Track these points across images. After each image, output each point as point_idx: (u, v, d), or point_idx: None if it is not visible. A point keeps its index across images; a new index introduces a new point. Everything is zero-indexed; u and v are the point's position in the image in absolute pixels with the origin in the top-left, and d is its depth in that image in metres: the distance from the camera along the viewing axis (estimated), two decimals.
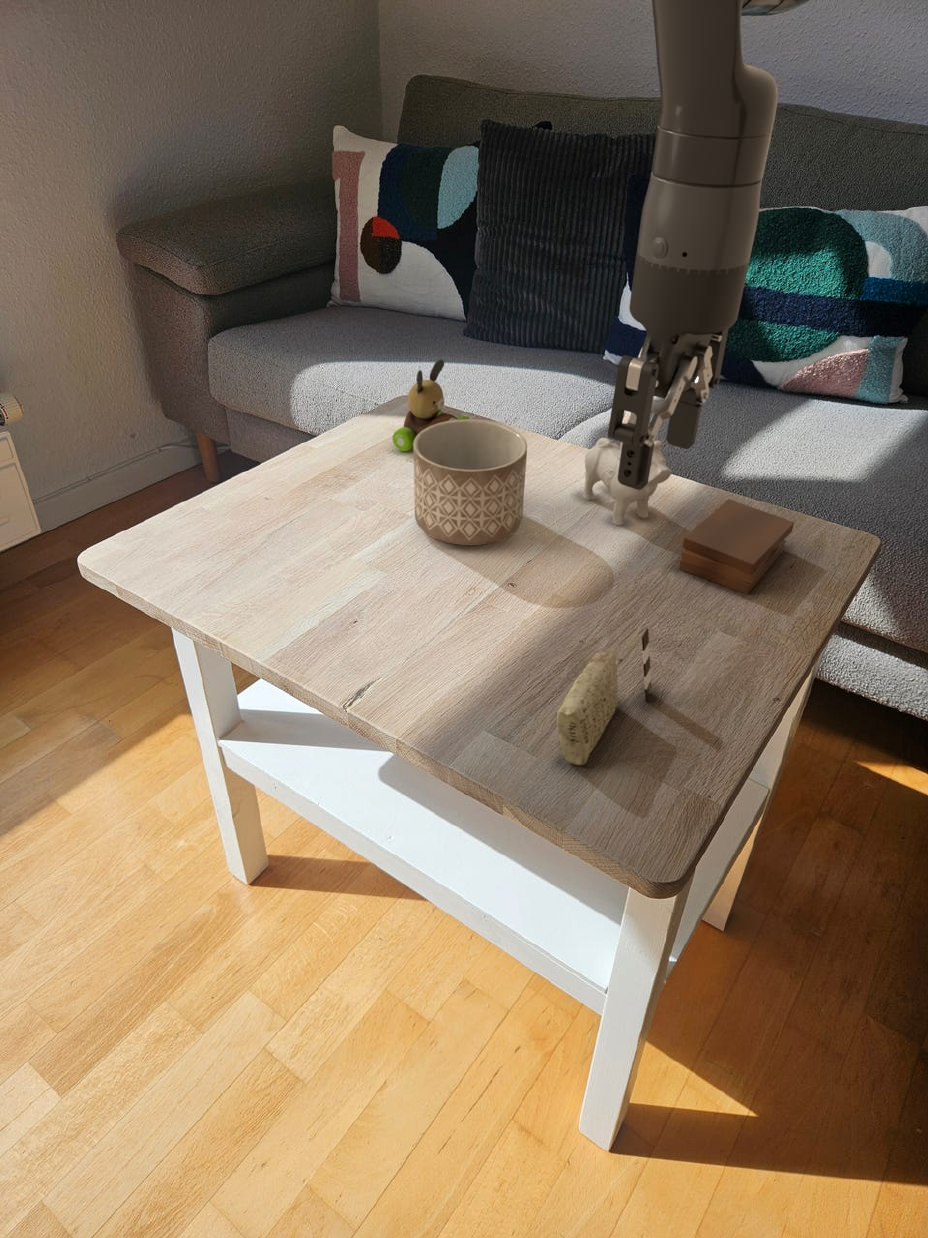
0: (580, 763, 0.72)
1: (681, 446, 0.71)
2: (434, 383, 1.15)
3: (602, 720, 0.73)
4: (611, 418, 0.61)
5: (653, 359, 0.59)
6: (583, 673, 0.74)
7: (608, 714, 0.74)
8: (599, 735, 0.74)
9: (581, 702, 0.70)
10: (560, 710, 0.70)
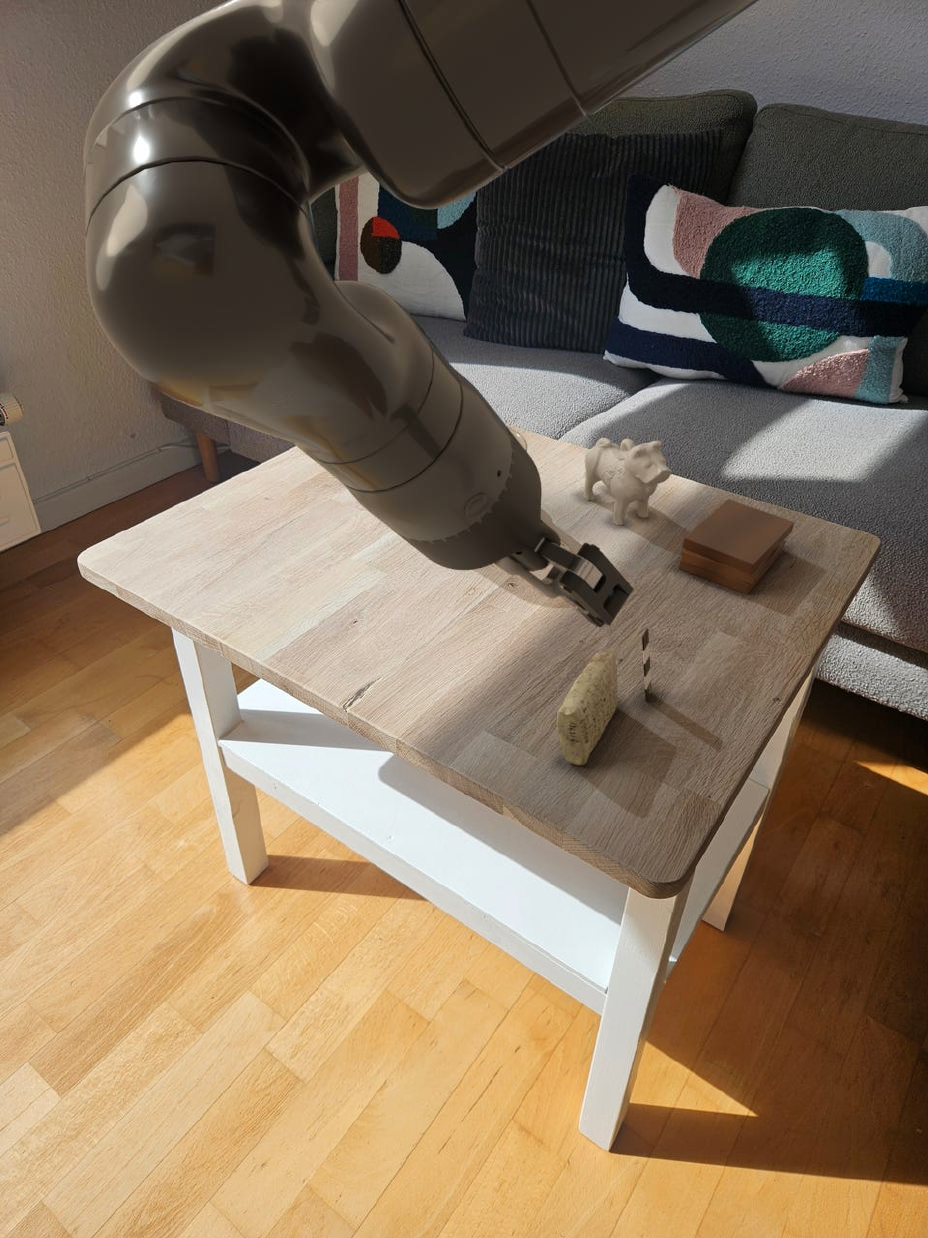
0: (580, 763, 0.72)
1: None
2: None
3: (602, 720, 0.73)
4: (603, 616, 0.47)
5: (564, 548, 0.44)
6: (583, 673, 0.74)
7: (608, 714, 0.74)
8: (599, 735, 0.74)
9: (581, 702, 0.70)
10: (560, 710, 0.70)
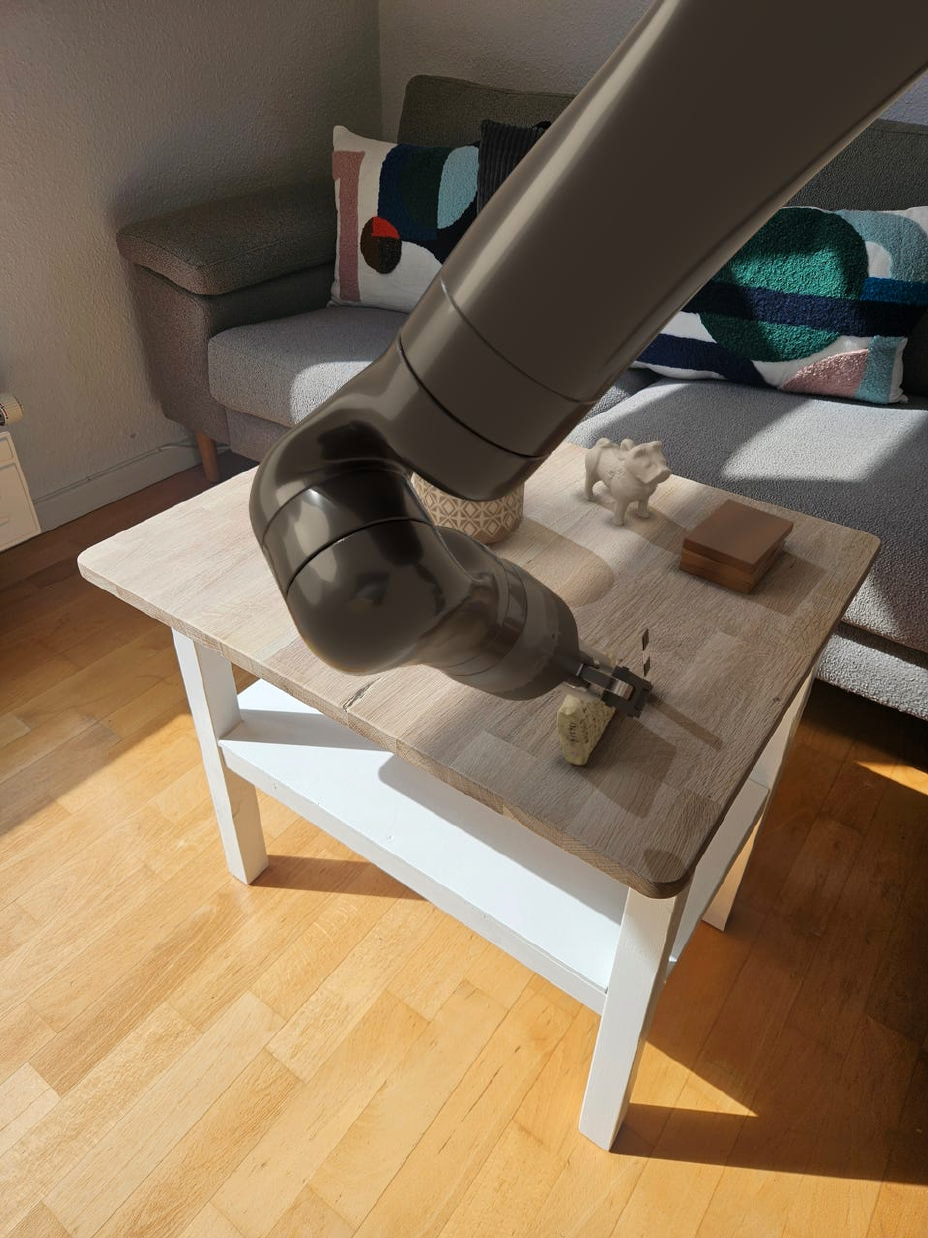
0: (580, 763, 0.72)
1: None
2: None
3: (602, 720, 0.73)
4: (634, 715, 0.57)
5: (601, 671, 0.54)
6: None
7: (608, 714, 0.74)
8: (599, 735, 0.74)
9: (581, 702, 0.70)
10: (560, 710, 0.70)
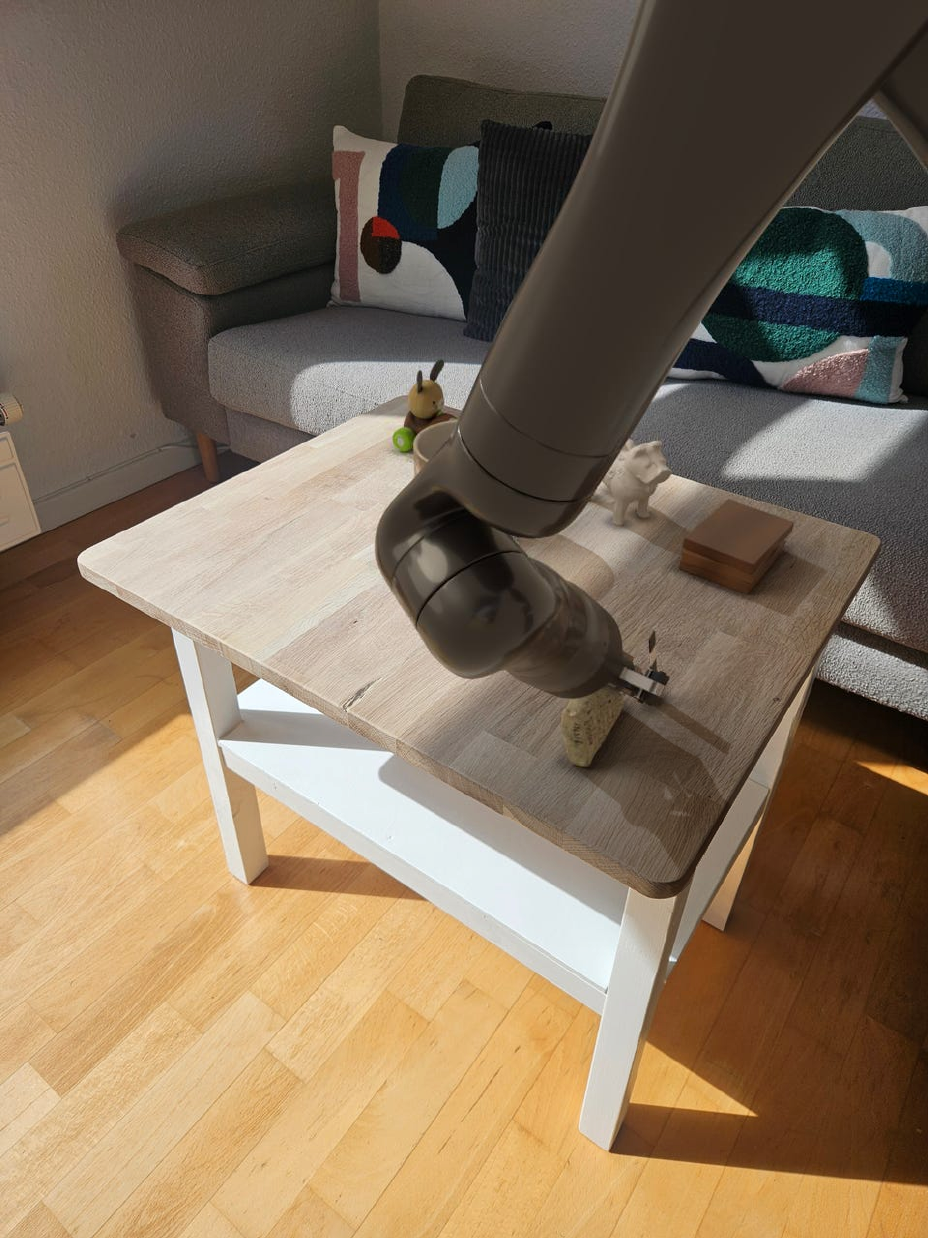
0: (584, 764, 0.72)
1: None
2: (434, 383, 1.15)
3: (607, 722, 0.73)
4: None
5: (643, 675, 0.64)
6: None
7: (613, 716, 0.74)
8: (604, 737, 0.74)
9: (585, 703, 0.70)
10: (564, 711, 0.70)
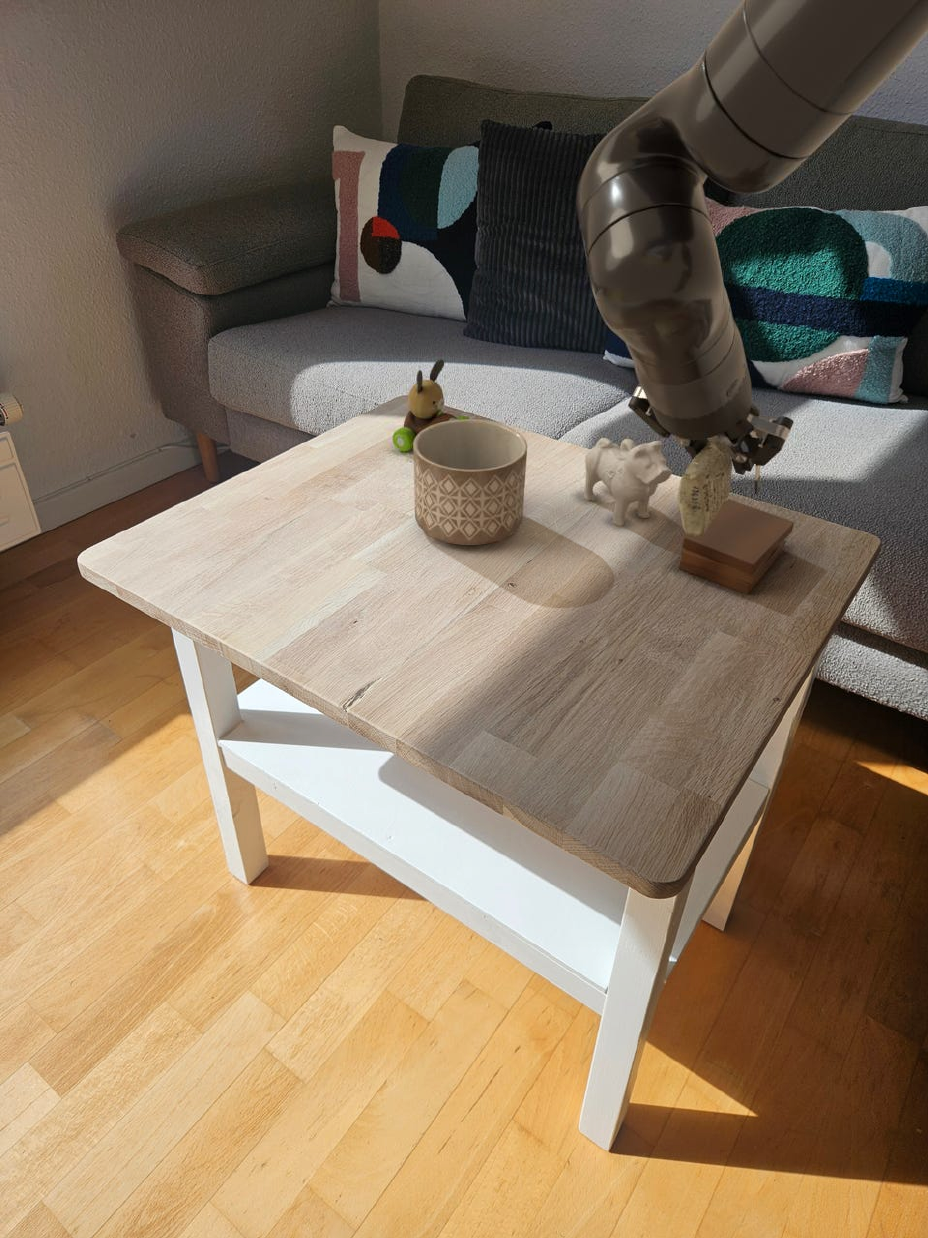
0: (699, 533, 0.75)
1: None
2: (434, 383, 1.15)
3: (720, 494, 0.76)
4: (768, 461, 0.71)
5: (768, 420, 0.68)
6: (701, 451, 0.77)
7: (724, 492, 0.77)
8: (716, 511, 0.77)
9: (703, 469, 0.73)
10: (684, 475, 0.73)
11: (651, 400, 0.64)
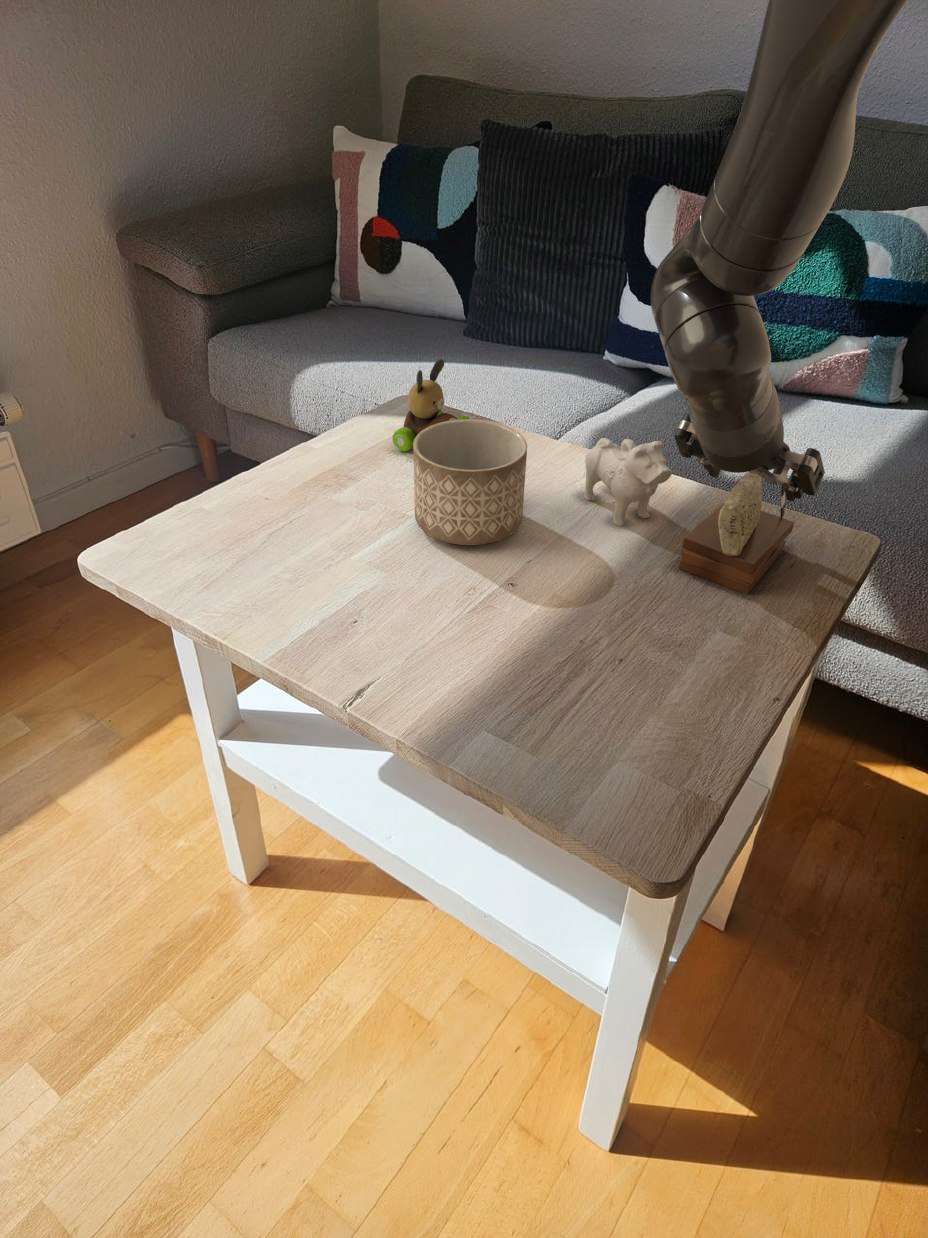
0: (735, 553, 0.91)
1: None
2: (434, 383, 1.15)
3: (753, 521, 0.91)
4: (813, 489, 0.84)
5: (796, 453, 0.81)
6: (737, 485, 0.92)
7: (756, 519, 0.93)
8: (749, 534, 0.92)
9: (740, 500, 0.89)
10: (723, 506, 0.89)
11: (702, 442, 0.78)
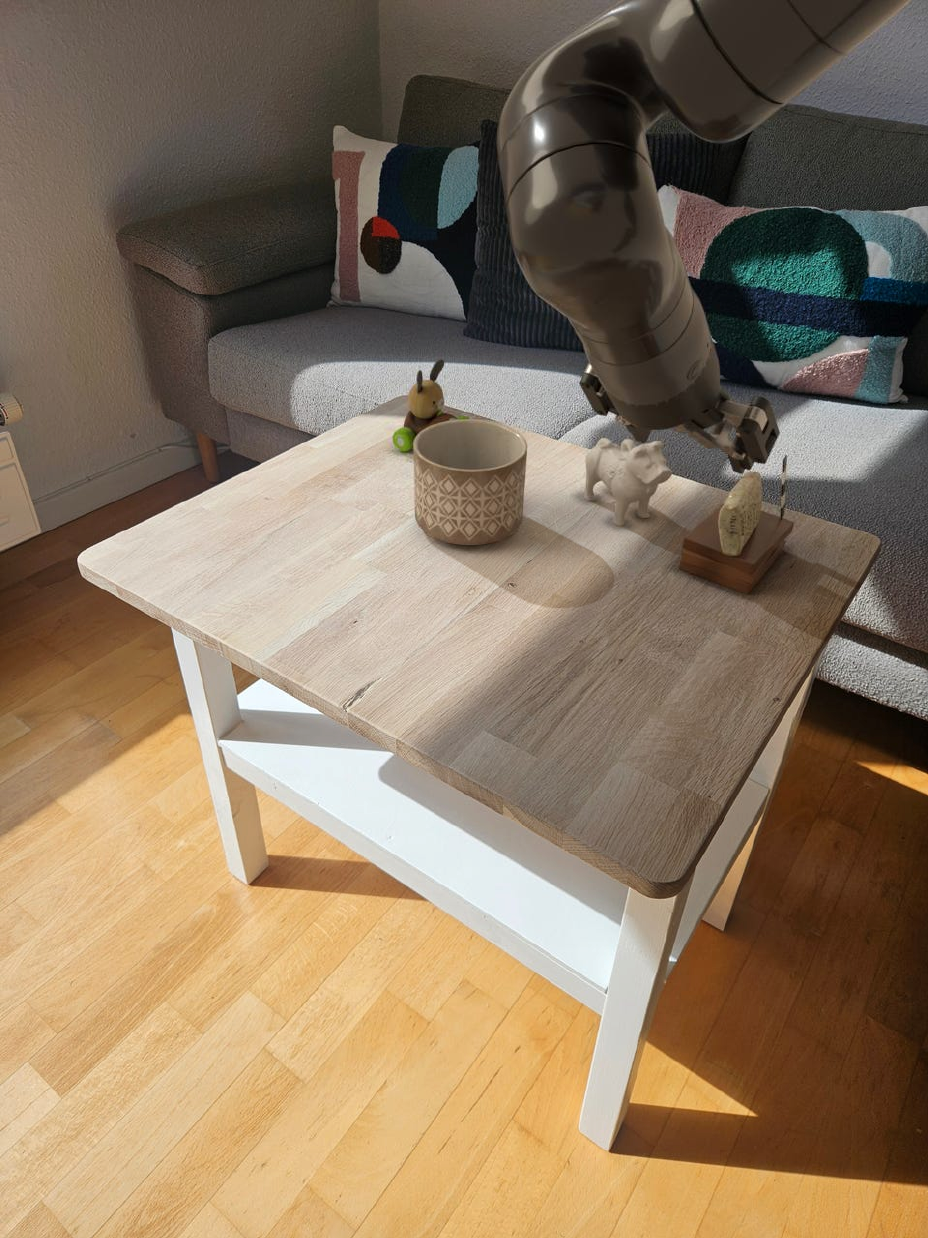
0: (735, 553, 0.91)
1: (651, 429, 0.72)
2: (434, 383, 1.15)
3: (753, 521, 0.91)
4: (764, 454, 0.62)
5: (738, 403, 0.59)
6: (737, 485, 0.92)
7: (756, 519, 0.93)
8: (749, 534, 0.92)
9: (740, 501, 0.89)
10: (723, 506, 0.89)
11: (603, 384, 0.56)
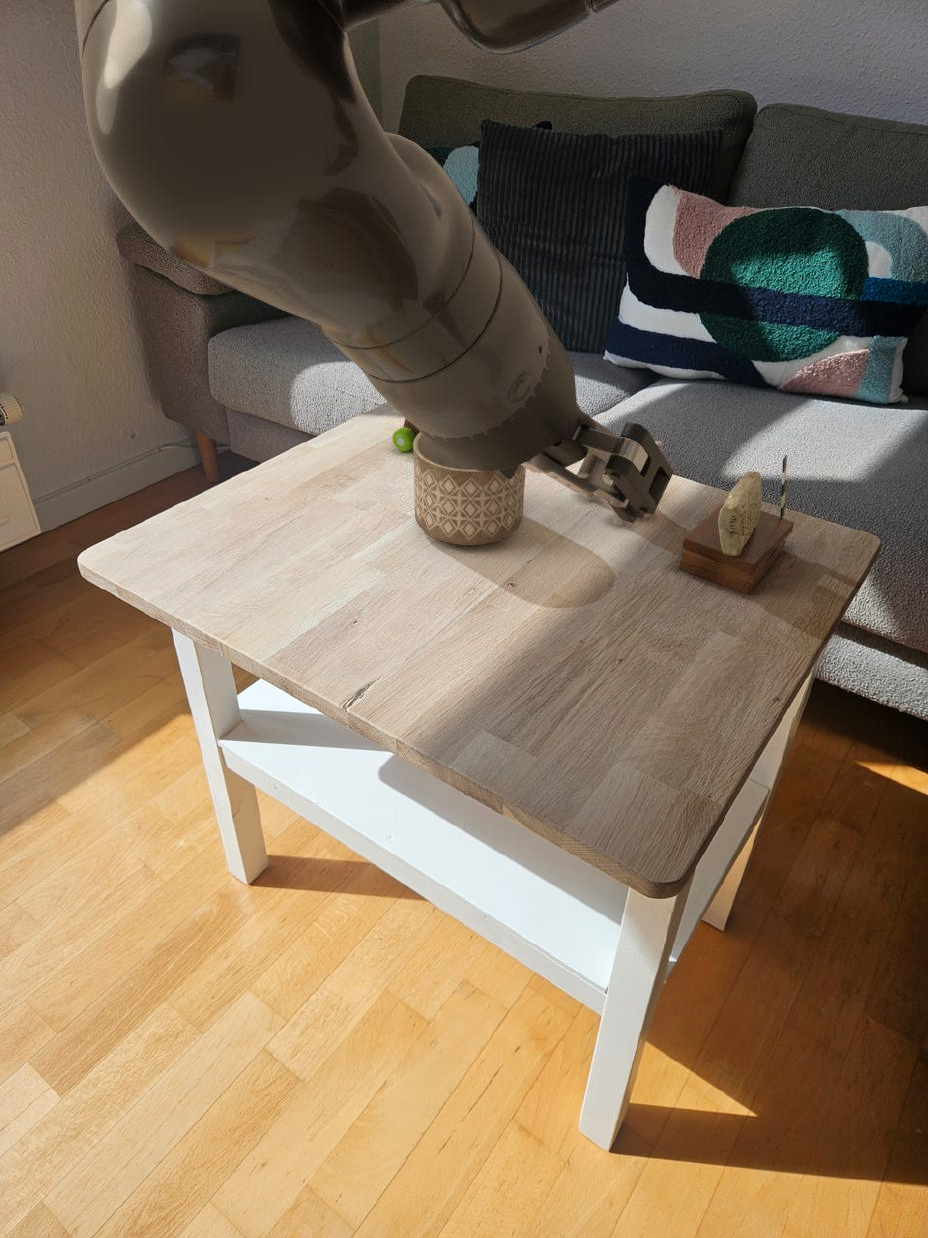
0: (735, 553, 0.91)
1: None
2: None
3: (753, 521, 0.91)
4: (649, 503, 0.44)
5: (605, 433, 0.41)
6: (737, 485, 0.92)
7: (756, 519, 0.93)
8: (749, 534, 0.92)
9: (740, 500, 0.89)
10: (723, 506, 0.89)
11: None
